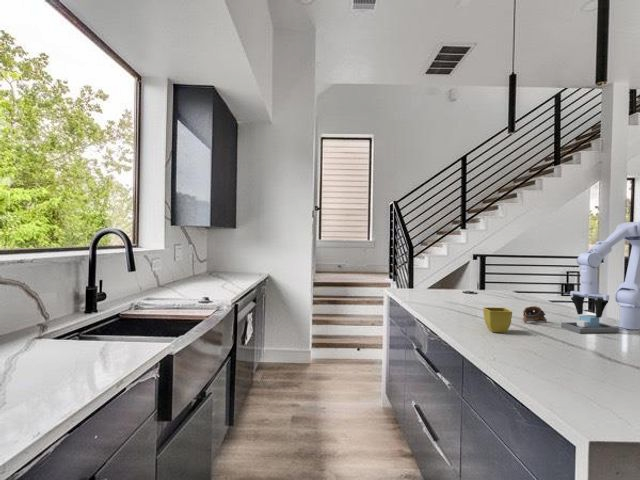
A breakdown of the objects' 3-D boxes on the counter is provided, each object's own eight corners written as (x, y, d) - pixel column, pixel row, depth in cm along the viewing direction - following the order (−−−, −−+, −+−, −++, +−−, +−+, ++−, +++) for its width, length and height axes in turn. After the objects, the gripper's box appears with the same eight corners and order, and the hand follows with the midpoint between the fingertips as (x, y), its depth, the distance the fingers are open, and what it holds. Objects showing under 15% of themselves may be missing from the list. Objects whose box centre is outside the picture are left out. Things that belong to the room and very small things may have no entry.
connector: (590, 326, 168) (590, 314, 168) (601, 328, 164) (601, 316, 164) (575, 328, 164) (575, 316, 164) (585, 331, 160) (585, 318, 160)
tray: (597, 326, 170) (597, 321, 170) (618, 333, 158) (618, 328, 158) (561, 327, 169) (561, 322, 169) (580, 333, 158) (580, 328, 158)
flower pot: (504, 329, 166) (504, 307, 166) (512, 334, 157) (512, 311, 157) (482, 328, 167) (482, 307, 167) (489, 333, 158) (489, 310, 158)
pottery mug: (553, 325, 175) (548, 310, 173) (534, 335, 175) (528, 320, 173) (535, 313, 187) (530, 299, 184) (517, 322, 187) (512, 308, 184)
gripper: (565, 281, 169) (565, 313, 169) (600, 284, 156) (601, 319, 156) (576, 280, 172) (576, 312, 172) (612, 283, 158) (612, 318, 158)
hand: (589, 315), depth 164 cm, fingers open, 7 cm apart
